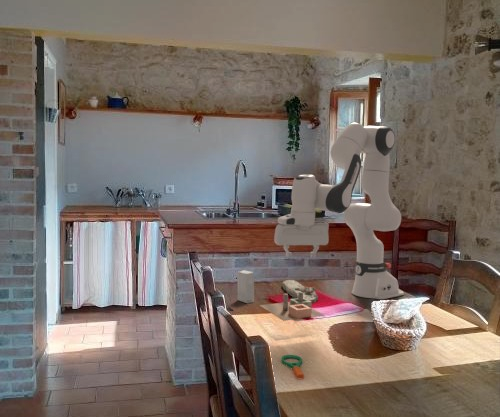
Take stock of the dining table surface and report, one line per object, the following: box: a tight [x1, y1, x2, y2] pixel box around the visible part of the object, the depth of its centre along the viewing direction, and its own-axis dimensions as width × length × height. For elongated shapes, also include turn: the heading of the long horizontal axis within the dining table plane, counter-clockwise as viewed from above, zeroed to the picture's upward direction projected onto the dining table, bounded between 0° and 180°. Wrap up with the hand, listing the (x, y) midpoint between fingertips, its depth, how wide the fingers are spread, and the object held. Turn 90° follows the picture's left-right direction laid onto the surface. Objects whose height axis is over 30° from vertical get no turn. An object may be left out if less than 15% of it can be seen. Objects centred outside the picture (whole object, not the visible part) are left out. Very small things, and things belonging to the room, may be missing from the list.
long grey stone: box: [281, 279, 319, 304], centre depth 226 cm, size 35×5×10 cm
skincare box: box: [236, 269, 255, 304], centre depth 215 cm, size 6×4×12 cm
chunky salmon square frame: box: [289, 304, 313, 319], centre depth 193 cm, size 6×6×3 cm
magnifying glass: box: [280, 354, 305, 379], centre depth 149 cm, size 15×6×2 cm, turn 7°
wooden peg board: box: [259, 292, 325, 322], centre depth 199 cm, size 17×20×8 cm
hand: (300, 257), depth 194 cm, fingers open, 8 cm apart
